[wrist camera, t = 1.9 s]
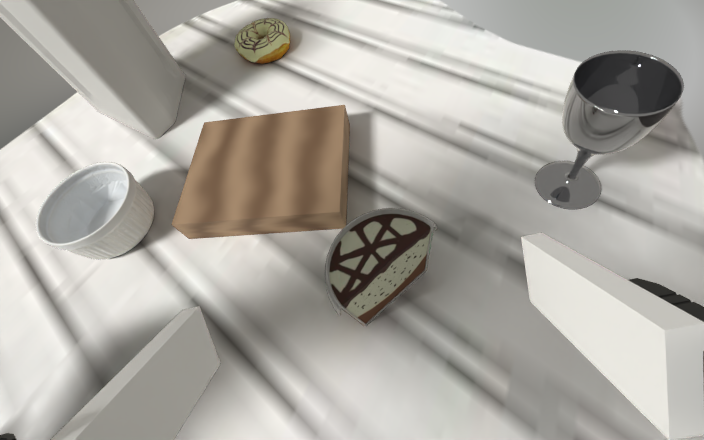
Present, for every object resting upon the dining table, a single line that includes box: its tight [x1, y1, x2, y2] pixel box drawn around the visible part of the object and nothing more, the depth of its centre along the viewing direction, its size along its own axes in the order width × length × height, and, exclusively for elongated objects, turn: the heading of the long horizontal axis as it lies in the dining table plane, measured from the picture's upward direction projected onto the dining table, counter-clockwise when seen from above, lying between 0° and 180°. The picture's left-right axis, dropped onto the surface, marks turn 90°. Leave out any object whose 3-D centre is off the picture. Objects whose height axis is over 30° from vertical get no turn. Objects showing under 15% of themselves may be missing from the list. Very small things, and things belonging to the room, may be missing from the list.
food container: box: [325, 208, 437, 326], centre depth 37 cm, size 12×6×10 cm, turn 130°
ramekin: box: [36, 162, 154, 260], centre depth 49 cm, size 13×13×7 cm
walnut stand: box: [171, 105, 350, 239], centre depth 50 cm, size 22×18×4 cm
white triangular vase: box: [0, 0, 185, 139], centre depth 55 cm, size 19×15×28 cm
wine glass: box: [535, 51, 684, 209], centre depth 36 cm, size 8×8×15 cm
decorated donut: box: [234, 18, 290, 64], centre depth 67 cm, size 10×11×4 cm
